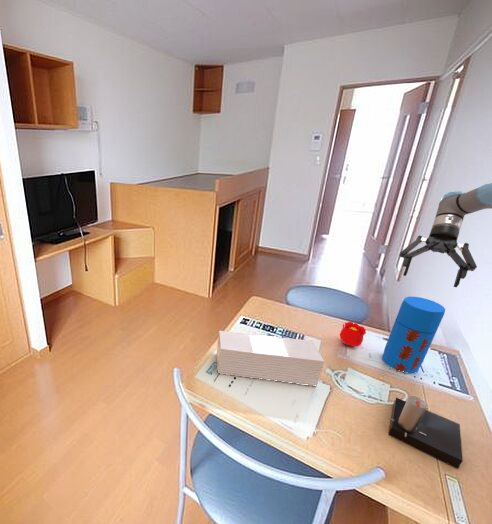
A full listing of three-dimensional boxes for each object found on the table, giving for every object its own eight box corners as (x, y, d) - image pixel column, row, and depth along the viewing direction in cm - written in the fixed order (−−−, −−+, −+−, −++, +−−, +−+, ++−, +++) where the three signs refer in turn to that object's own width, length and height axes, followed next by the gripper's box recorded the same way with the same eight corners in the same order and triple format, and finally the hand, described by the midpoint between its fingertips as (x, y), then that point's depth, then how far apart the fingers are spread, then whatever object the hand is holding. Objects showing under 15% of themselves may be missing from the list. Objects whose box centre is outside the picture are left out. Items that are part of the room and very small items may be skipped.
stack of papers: (217, 373, 106) (220, 348, 102) (216, 354, 116) (219, 330, 111) (316, 387, 100) (324, 361, 96) (306, 365, 110) (313, 340, 106)
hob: (455, 431, 85) (460, 423, 84) (458, 472, 75) (463, 463, 74) (388, 402, 95) (391, 394, 93) (382, 435, 84) (386, 427, 83)
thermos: (386, 350, 118) (408, 293, 109) (421, 364, 111) (448, 305, 101) (377, 362, 112) (400, 302, 102) (414, 378, 104) (442, 316, 95)
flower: (362, 343, 122) (368, 326, 119) (358, 352, 117) (364, 335, 114) (340, 335, 127) (345, 319, 124) (335, 343, 122) (340, 327, 119)
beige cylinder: (397, 417, 86) (408, 392, 82) (415, 425, 84) (427, 399, 80) (397, 427, 83) (408, 402, 80) (416, 435, 81) (429, 409, 77)
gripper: (404, 218, 117) (387, 265, 112) (499, 231, 101) (484, 286, 97) (400, 228, 122) (384, 274, 118) (490, 242, 107) (475, 295, 102)
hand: (429, 279), depth 107 cm, fingers open, 13 cm apart
